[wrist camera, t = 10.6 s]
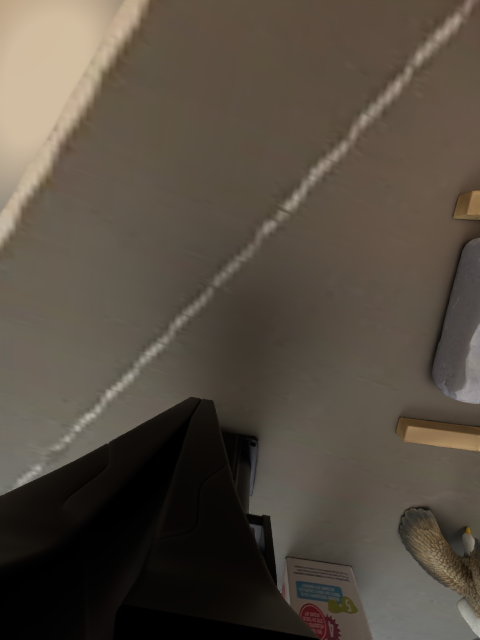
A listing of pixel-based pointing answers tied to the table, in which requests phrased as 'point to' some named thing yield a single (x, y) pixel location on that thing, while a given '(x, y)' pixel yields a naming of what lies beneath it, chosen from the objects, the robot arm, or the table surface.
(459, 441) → the maple bay
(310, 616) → the juice carton
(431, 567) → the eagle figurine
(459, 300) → the stone block
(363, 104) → the table surface
